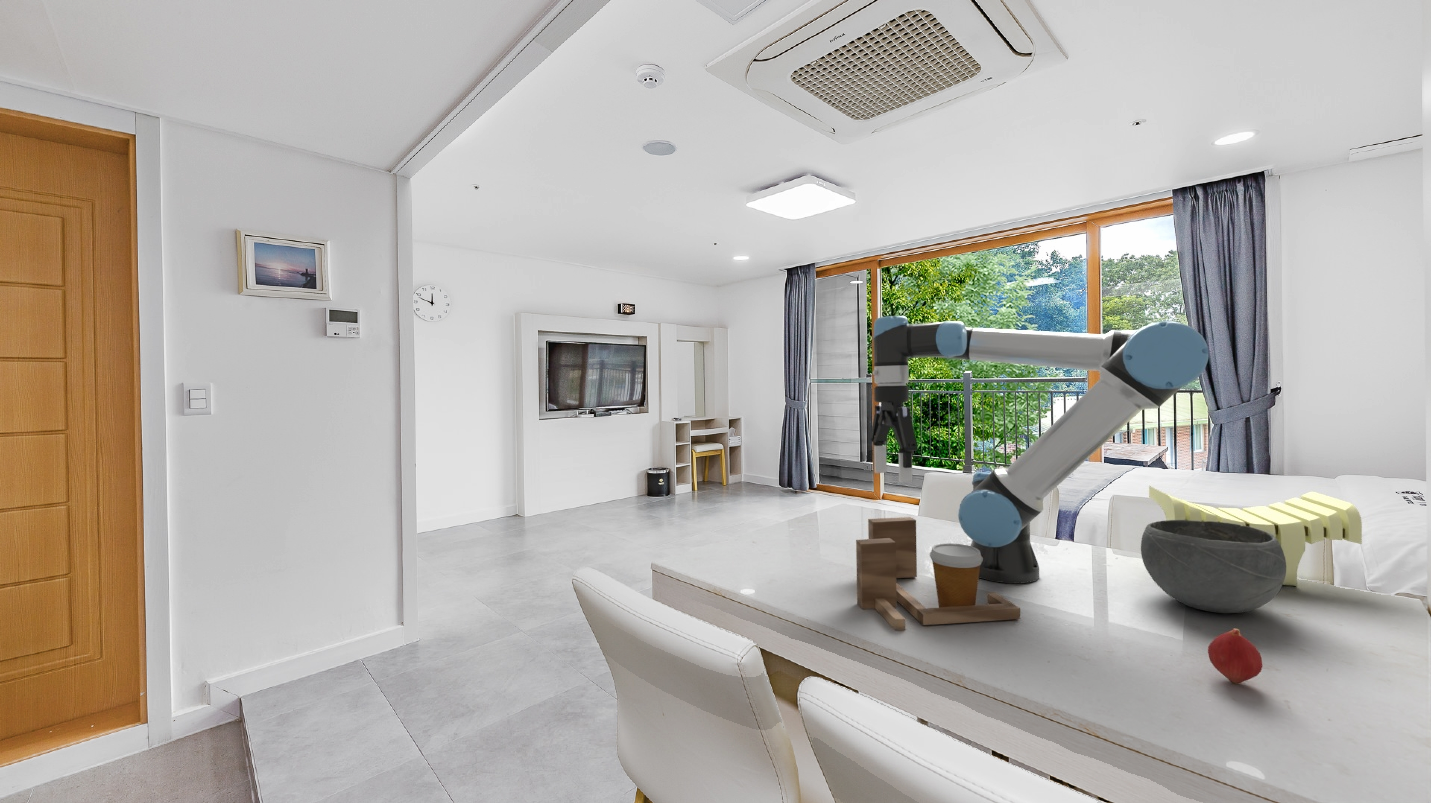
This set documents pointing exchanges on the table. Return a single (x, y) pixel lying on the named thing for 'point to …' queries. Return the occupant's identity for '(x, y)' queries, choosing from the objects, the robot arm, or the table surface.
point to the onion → (1235, 656)
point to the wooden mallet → (878, 579)
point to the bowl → (1214, 564)
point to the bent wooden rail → (906, 567)
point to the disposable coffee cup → (956, 573)
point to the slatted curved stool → (1279, 521)
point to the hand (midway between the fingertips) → (892, 477)
